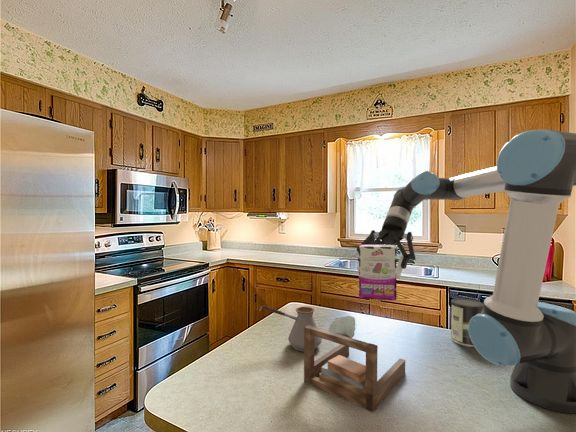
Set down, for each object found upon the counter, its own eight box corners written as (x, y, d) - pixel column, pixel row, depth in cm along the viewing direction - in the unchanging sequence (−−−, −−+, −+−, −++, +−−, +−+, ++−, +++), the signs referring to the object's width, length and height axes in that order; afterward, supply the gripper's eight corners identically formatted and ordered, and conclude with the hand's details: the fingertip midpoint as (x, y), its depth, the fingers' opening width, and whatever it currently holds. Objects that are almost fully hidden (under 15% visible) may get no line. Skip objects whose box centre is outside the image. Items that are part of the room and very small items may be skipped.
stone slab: (327, 340, 116) (354, 339, 114) (326, 332, 116) (353, 332, 114) (334, 320, 138) (356, 319, 135) (333, 314, 138) (356, 313, 135)
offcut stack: (377, 389, 81) (377, 366, 81) (366, 402, 76) (366, 377, 76) (331, 371, 90) (331, 351, 90) (318, 381, 85) (318, 359, 85)
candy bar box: (394, 295, 98) (395, 244, 97) (396, 301, 94) (397, 247, 93) (358, 293, 101) (359, 243, 100) (358, 298, 96) (359, 246, 95)
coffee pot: (317, 338, 113) (317, 297, 113) (325, 353, 102) (326, 307, 101) (258, 342, 110) (258, 300, 110) (260, 357, 99) (260, 310, 98)
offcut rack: (405, 374, 89) (406, 322, 89) (373, 412, 72) (373, 348, 72) (344, 353, 102) (344, 307, 102) (303, 381, 85) (304, 327, 85)
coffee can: (487, 341, 111) (488, 302, 111) (477, 350, 105) (478, 308, 104) (457, 333, 119) (457, 296, 119) (445, 340, 112) (446, 301, 112)
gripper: (434, 231, 103) (419, 286, 91) (367, 228, 118) (346, 275, 106) (430, 215, 98) (414, 270, 87) (360, 214, 114) (339, 261, 102)
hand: (377, 273), depth 97 cm, fingers closed on candy bar box, 12 cm apart
